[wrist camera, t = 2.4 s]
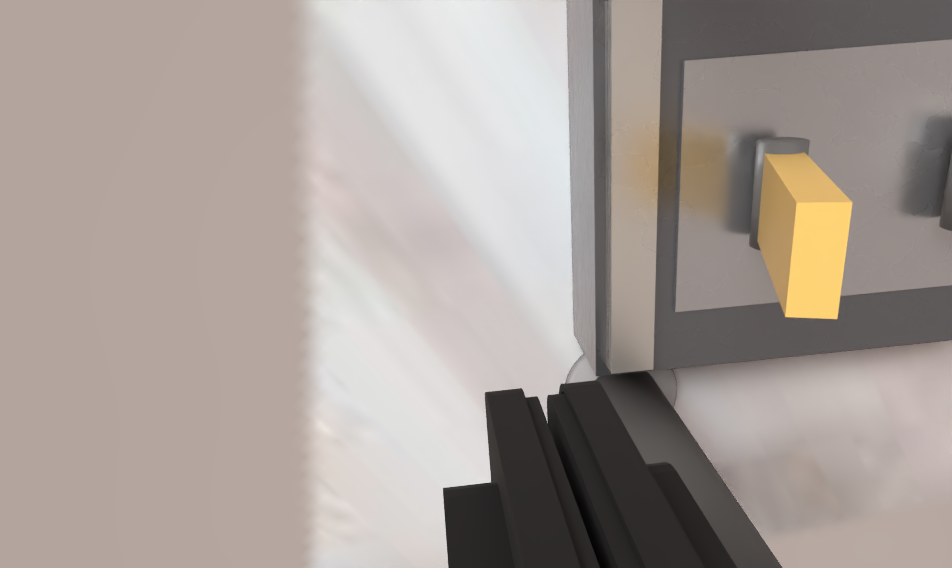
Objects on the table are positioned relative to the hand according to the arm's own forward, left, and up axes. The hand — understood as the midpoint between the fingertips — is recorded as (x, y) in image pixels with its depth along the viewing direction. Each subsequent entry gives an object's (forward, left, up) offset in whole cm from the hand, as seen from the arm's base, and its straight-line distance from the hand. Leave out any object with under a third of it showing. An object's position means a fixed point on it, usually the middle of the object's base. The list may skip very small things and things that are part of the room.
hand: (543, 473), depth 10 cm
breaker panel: (-12, 0, -19) cm, 22 cm away
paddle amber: (-10, 0, -13) cm, 17 cm away
